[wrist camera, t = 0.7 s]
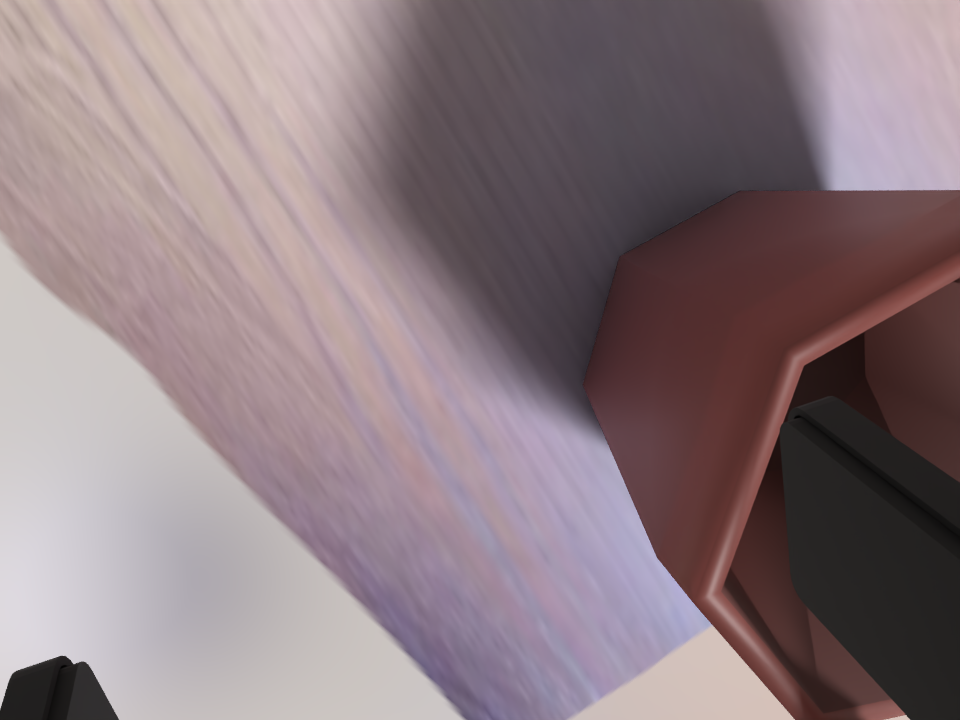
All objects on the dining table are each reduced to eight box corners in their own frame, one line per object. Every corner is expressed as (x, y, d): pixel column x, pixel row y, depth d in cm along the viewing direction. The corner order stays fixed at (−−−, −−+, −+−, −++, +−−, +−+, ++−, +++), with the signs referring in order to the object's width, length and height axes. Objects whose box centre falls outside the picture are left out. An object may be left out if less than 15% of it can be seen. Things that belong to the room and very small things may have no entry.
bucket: (697, 578, 58) (1004, 944, 36) (433, 409, 48) (626, 764, 26) (958, 276, 55) (1475, 469, 32) (730, 32, 45) (1240, 66, 23)
